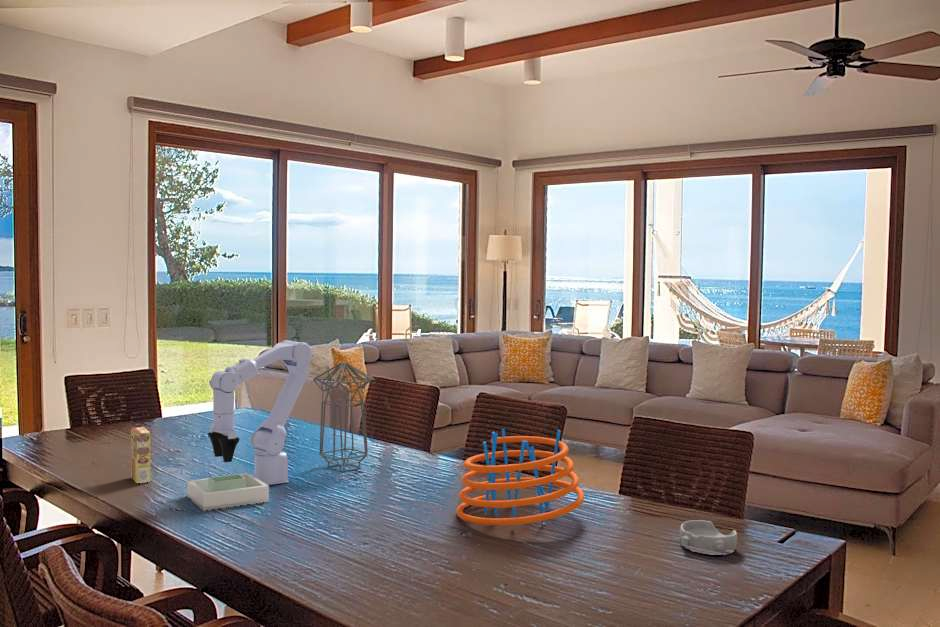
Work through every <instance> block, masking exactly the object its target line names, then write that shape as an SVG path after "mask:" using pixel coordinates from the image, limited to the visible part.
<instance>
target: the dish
mask: <svg viewBox="0 0 940 627" xmlns="http://www.w3.org/2000/svg"><path fill="white" fill-rule="evenodd" d="M680 540H681V543H682V544H683V545H685V546H687V545H688V546H692V547H696V548H700V549H706V550H712V551H726V550H731V549H733V548H735V547H736V548H737V544H738V532H737V530H735V529H733V530H732V531H731V532H730V533H729V534H726V535H725V534H723V533H721V532H720V531H719V530H718V529H717V528H716V527H715V525H714V523H713V522H712V521H711V520H704V519H702V520H701V519H697V520H696V519H692V520H686V521H683V523H681V525H680V527H679V541H680ZM681 543H680V544H681Z"/></svg>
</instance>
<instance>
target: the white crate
mask: <svg viewBox="0 0 940 627" xmlns="http://www.w3.org/2000/svg"><path fill="white" fill-rule="evenodd" d="M239 474H240V475H242V476H244V477H245V478H246V488H240V489H232V490H225V491H217V492H209V493H208V478H209V477H207V478H197V479H190V480H186V498H188V499H189V498H190V499H191V500H192V501H191V500H190V499H189V500H190V501H191V502H192V503H193V504H195V505H196V506H197V505H198V506H199V507H198V506H197V507H198V508H199V509H201V510H202V512H207V511H206V510H208V511H213V510H212V509H215V510H219V509H218V508H222V509H228V507H229V508H234V506H236V507H241V506H240V505H243V506H248V505H247V504H250V505H257V504H262V503H263V502H264V503H268V502H270V498H269V497H270V485H267V484H265V483H264V482H262V481H261V480H259V479H257V478H256V477H255V475H252V474H251V473H249V472H248V473H247V472H246V473H239ZM256 503H257V504H256ZM226 507H227V508H226Z"/></svg>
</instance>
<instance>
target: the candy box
mask: <svg viewBox="0 0 940 627" xmlns="http://www.w3.org/2000/svg"><path fill="white" fill-rule="evenodd" d="M130 477H131V479H132V480H133V481H134V482H135V484H136V483H137V485H138V483H140V484H147V482H148V483H151V432H150V431H149V430H148V429H147V428H146V427H144V426H141V427H130Z"/></svg>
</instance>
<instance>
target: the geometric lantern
mask: <svg viewBox="0 0 940 627" xmlns="http://www.w3.org/2000/svg"><path fill="white" fill-rule="evenodd" d="M329 372H330V373H329ZM328 373H329V374H328ZM326 374H328V375H327V376H325V377H324V378H323V377H322V376H324V375H326ZM335 374H336V376H335ZM343 374H344V375H343ZM334 376H335V377H334ZM333 377H334V379H333ZM349 377H350V378H351V379H352V381H351V380H349ZM344 380H346V381H344ZM357 380H358V381H357ZM374 380H375V378H374V377H372V376H370V375H369V374H367V373H365V372H364V371H362V370H361V369H359V368H356V367H355V366H354V365H352V364H350V363H349V362H343V361H342V362H339V363H338V364H336V365H334V366H332V367H331V368H329V369H328V370H326V371H324V372H323V373H321V374H319V375H317V376H315V377H314V378H312V381H313V382H314V383H315V384H316V386H318V388H319V389H320V390H321V391H322V395H321V404H320V405H321V406H320V407H321V408H320V410H321V411H320V428H319V429H320V431H319V436H320V437H319V451H318V452H319V453H318V454H319V456H320V457H322V458H323V459H324V460H325V461H326V462H327V468H328V469H331V468H332V469H331V470H334V469H335V470H334V471H337V470H338V471H337V472H340V471H345V472H349V471H348V470H350V471H354V469H356V470H360V469H359V467H360V468H361V462H362V461H363V460H364V459H366V458H367V456H369V453H368V452H369V450H368V437H367V436H368V434H367V419H366V418H367V417H366V401H364V398H363V396H364V395H363V389H365V388H366V386H367V385H368V384H369V383H370V382H371V381H374ZM362 383H363V384H362ZM335 384H336V385H335ZM343 384H347V385H348V386H349V389H348V388H347V387H346V386H344V385H343ZM351 384H355V385H356V389H352V388H351ZM320 385H321V386H320ZM323 385H324V386H325V389H324V386H323ZM339 386H341V387H342V388H343V389H344V390H345V391H346V394H345V395H344V394H343V392H342V391H341V390H340V388H339ZM331 388H332V389H333V388H335V389H337V390H338V391H339V393H340V394H341V396H343V398H342V399H334V397H333V396H332V394H331V392H330V389H331ZM360 390H361V392H360ZM324 392H326V395H325V399H324ZM353 392H354V393H353ZM357 392H358V393H357ZM349 393H353V395H352V396H351V398H350V399H349V398H347V395H348V394H349ZM356 394H358V396H359V398H360V400H357V399H354V397H355V395H356ZM328 397H330V399H331V400H328ZM343 401H345V403H344V404H342V403H343ZM336 402H339V403H338V404H336ZM348 402H350V403H349V404H348ZM353 402H359V403H353ZM332 403H333V404H332ZM341 404H342V405H341ZM326 405H329V406H333V437H332V438H333V441H332V442H333V445H332V448H333V449H332V450H328V451H323V450H324V435H325V423H326V422H325V420H326V419H325V417H326ZM356 405H360V410H361V411H360V412H361V420H362V421H361V424H362V435H363V445H364V446H363V447H364V451H363V450H359V449H356V448H354V425H353V424H354V423H353V419H354V418H353V406H356ZM348 406H350V429H351V430H350V431H351V448H347V423H348V422H347V419H348V418H347V413H348V412H347V411H348ZM337 407H338V408H339V409H338V412H339V432H340V434H339V435H340V436H339V437H340V438H339V440H340V448H338V449H336V422H337V421H336V416H337V415H336V414H337V411H336V410H337ZM342 407H345V409H344V445H343V427H342ZM343 451H344V452H343ZM347 451H350V453H349V455H348V456H347V455H346V454H347ZM336 452H340V453H341V454H340V455H341V457H339V458H336ZM353 452H358V453H361V454H362V455H353V456H351V455H352V453H353ZM329 453H332V457H331V456H328V455H325V454H329ZM356 458H361V459H356ZM329 459H330V460H329ZM341 460H342V463H340V462H339V461H341ZM349 460H352V461H354V462H349ZM346 461H347V462H346ZM330 464H331V465H330ZM341 464H342V465H341ZM357 464H358V465H357ZM336 465H337V466H339V469H337V468H334V467H336ZM348 465H349V466H353V465H354V467H356V466H357V467H356V468H350V469H346V470H345V466H348ZM330 466H331V467H330ZM342 468H343V470H342Z"/></svg>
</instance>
